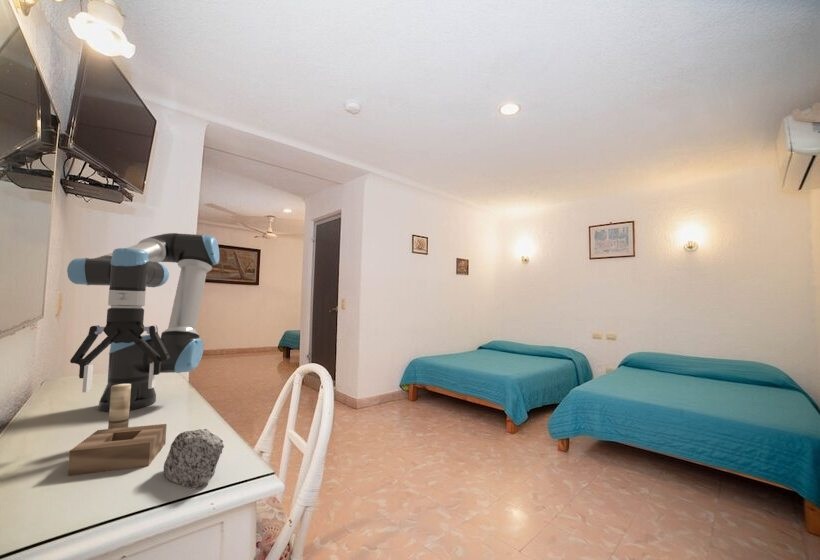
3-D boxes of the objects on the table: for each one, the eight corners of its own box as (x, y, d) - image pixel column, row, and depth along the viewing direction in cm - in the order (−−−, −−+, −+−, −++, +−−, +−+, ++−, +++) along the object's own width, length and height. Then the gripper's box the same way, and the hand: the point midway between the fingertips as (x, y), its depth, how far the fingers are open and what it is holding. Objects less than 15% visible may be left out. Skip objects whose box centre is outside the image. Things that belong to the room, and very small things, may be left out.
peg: (111, 438, 90) (115, 384, 91) (130, 436, 91) (133, 383, 92) (103, 444, 86) (107, 388, 87) (123, 442, 88) (127, 386, 88)
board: (96, 451, 82) (97, 430, 83) (165, 443, 87) (166, 423, 88) (67, 475, 71) (69, 451, 72) (148, 465, 76) (150, 442, 77)
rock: (228, 483, 69) (229, 430, 71) (180, 498, 63) (182, 440, 65) (203, 469, 80) (204, 424, 82) (159, 482, 74) (162, 432, 76)
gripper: (56, 306, 83) (48, 396, 81) (178, 308, 92) (172, 389, 90) (73, 306, 90) (66, 389, 88) (185, 307, 99) (180, 383, 97)
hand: (120, 389), depth 89 cm, fingers open, 13 cm apart
